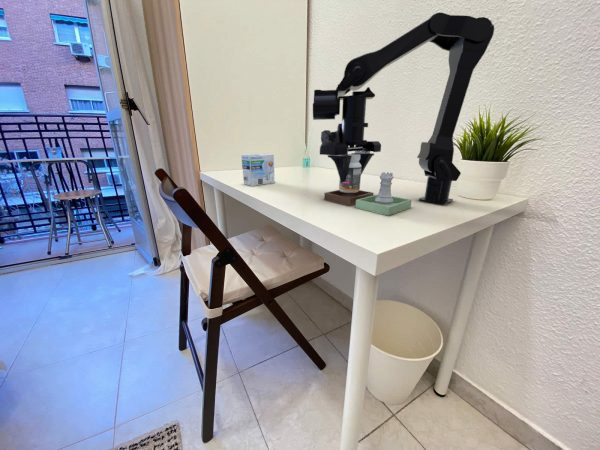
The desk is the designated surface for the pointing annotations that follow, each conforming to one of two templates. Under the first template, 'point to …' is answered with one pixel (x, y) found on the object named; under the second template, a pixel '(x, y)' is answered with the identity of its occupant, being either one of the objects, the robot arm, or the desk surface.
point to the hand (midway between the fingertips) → (350, 180)
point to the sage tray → (370, 205)
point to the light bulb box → (258, 169)
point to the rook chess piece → (385, 190)
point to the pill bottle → (352, 176)
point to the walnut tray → (346, 197)
